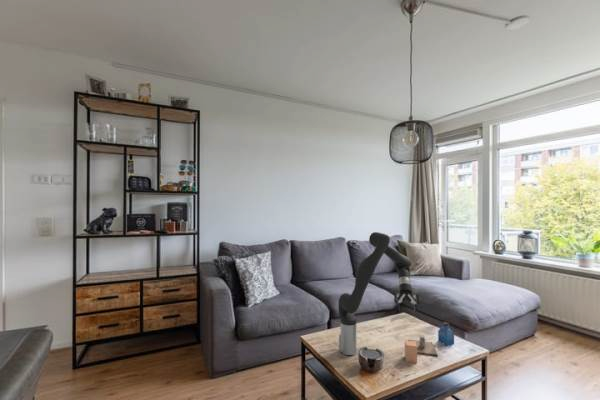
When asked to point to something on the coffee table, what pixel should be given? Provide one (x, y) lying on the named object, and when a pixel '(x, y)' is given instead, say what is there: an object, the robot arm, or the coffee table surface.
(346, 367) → the coffee table surface
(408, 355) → the salmon orange block
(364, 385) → the coffee table surface
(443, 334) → the perfume bottle
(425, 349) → the walnut post board
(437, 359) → the coffee table surface
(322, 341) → the coffee table surface
